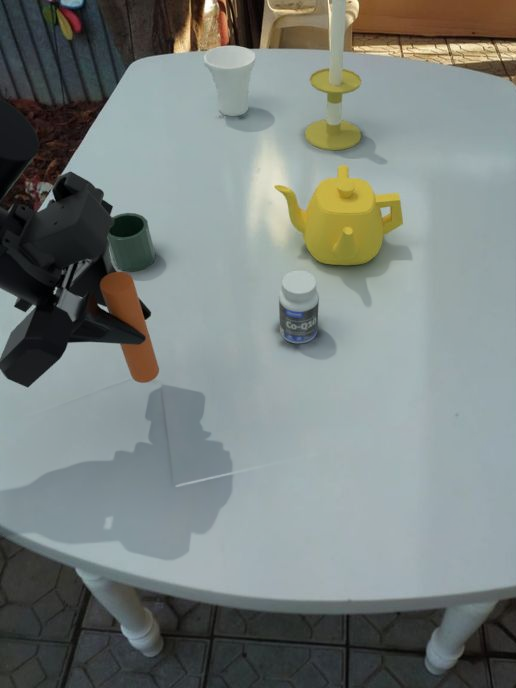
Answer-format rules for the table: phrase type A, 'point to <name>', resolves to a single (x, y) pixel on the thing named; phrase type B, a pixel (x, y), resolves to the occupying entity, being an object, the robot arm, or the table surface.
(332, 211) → the teapot
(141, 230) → the green cylindrical container
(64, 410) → the table surface
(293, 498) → the table surface
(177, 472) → the table surface
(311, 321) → the pill bottle
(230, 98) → the cup
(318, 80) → the candle
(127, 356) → the orange cylindrical rod
